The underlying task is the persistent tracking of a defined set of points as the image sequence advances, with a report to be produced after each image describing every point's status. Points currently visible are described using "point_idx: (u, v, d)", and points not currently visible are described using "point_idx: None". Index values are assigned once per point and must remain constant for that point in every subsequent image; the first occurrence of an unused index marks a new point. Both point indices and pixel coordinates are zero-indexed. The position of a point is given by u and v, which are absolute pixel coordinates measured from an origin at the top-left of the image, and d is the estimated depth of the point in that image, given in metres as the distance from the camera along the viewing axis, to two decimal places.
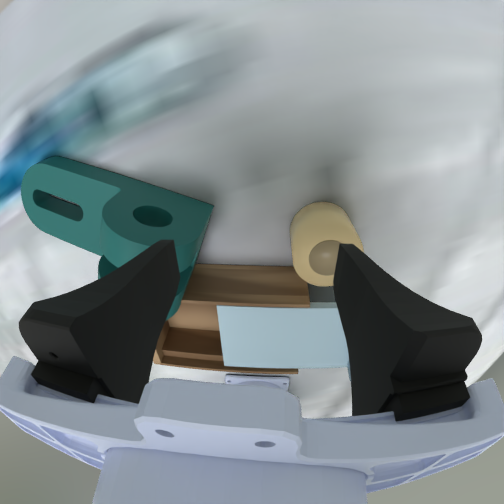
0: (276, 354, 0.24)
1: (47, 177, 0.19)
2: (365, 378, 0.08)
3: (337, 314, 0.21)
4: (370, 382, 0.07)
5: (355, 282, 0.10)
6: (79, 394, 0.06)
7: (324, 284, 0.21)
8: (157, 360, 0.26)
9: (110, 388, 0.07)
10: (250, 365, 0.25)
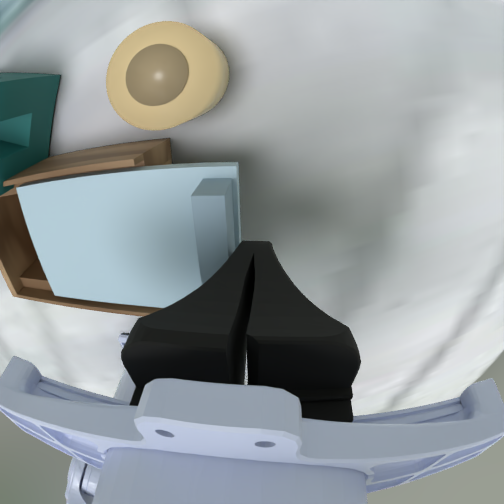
0: (98, 274, 0.15)
1: None
2: None
3: (152, 184, 0.12)
4: None
5: None
6: None
7: (160, 126, 0.11)
8: (13, 290, 0.16)
9: None
10: (78, 295, 0.16)
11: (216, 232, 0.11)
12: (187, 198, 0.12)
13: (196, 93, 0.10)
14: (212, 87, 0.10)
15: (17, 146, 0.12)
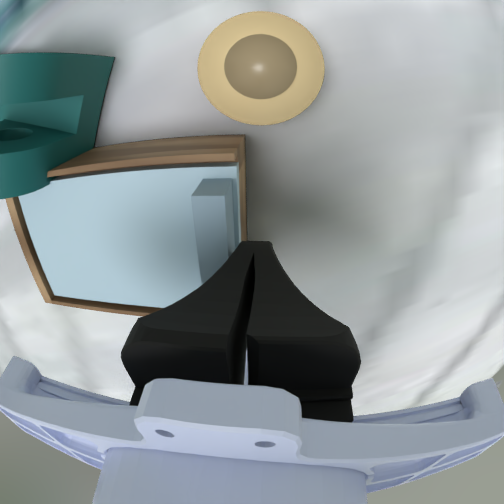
0: (98, 274, 0.15)
1: None
2: None
3: (152, 184, 0.12)
4: None
5: None
6: None
7: (261, 121, 0.11)
8: (46, 296, 0.16)
9: None
10: (78, 295, 0.16)
11: (216, 232, 0.11)
12: (187, 198, 0.12)
13: (303, 92, 0.10)
14: (319, 88, 0.10)
15: (62, 133, 0.12)
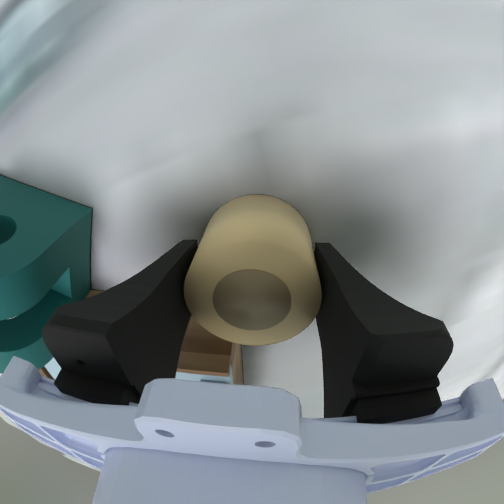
0: None
1: None
2: (333, 380, 0.08)
3: None
4: (337, 385, 0.07)
5: (327, 282, 0.10)
6: (110, 403, 0.06)
7: (252, 342, 0.12)
8: None
9: (142, 395, 0.07)
10: None
11: None
12: None
13: (296, 322, 0.11)
14: (313, 317, 0.11)
15: (57, 297, 0.13)
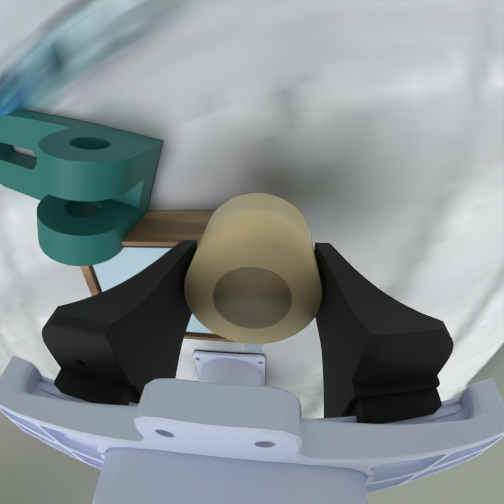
0: None
1: (8, 127, 0.16)
2: (333, 380, 0.08)
3: None
4: (337, 385, 0.07)
5: (327, 282, 0.10)
6: (110, 403, 0.06)
7: (253, 341, 0.12)
8: None
9: (142, 395, 0.07)
10: None
11: None
12: None
13: (296, 320, 0.11)
14: (313, 315, 0.11)
15: (126, 206, 0.19)
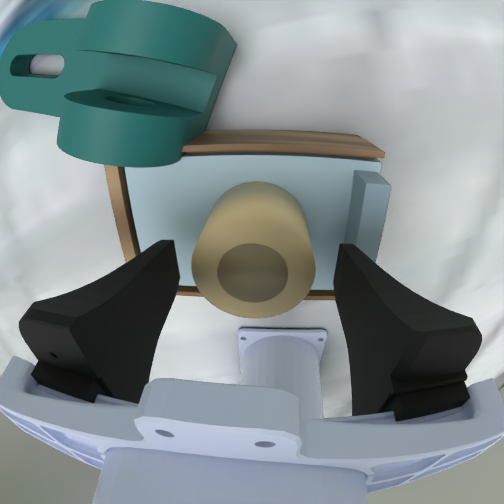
0: None
1: (32, 35, 0.10)
2: (365, 378, 0.08)
3: (307, 169, 0.13)
4: (370, 382, 0.07)
5: (355, 282, 0.10)
6: (79, 394, 0.06)
7: (252, 315, 0.13)
8: None
9: (110, 388, 0.07)
10: (184, 281, 0.17)
11: (378, 214, 0.12)
12: (337, 185, 0.13)
13: (292, 295, 0.12)
14: (308, 291, 0.12)
15: (188, 109, 0.14)
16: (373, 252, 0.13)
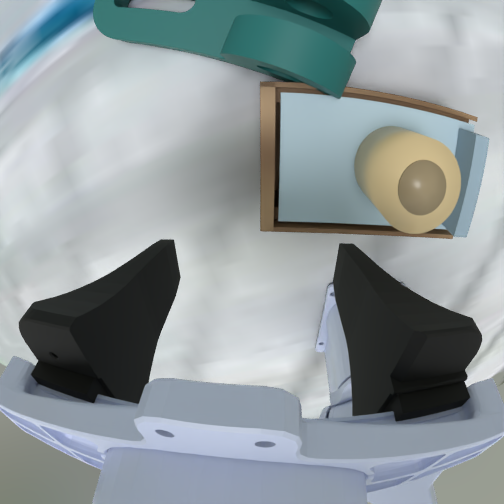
0: (357, 192, 0.16)
1: None
2: (365, 378, 0.08)
3: (430, 123, 0.14)
4: (370, 382, 0.07)
5: (355, 282, 0.10)
6: (79, 394, 0.06)
7: (410, 230, 0.13)
8: (268, 222, 0.18)
9: (110, 388, 0.07)
10: (318, 217, 0.18)
11: (481, 159, 0.12)
12: (448, 138, 0.14)
13: (442, 212, 0.12)
14: (451, 209, 0.12)
15: None
16: (477, 189, 0.13)
